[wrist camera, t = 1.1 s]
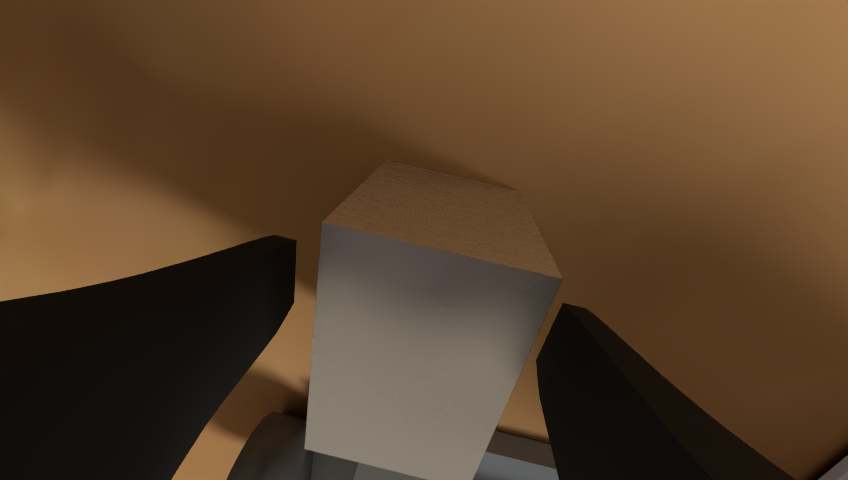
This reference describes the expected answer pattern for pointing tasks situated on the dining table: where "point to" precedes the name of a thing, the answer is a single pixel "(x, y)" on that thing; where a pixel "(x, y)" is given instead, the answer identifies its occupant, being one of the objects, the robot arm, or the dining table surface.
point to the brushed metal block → (423, 320)
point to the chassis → (332, 476)
